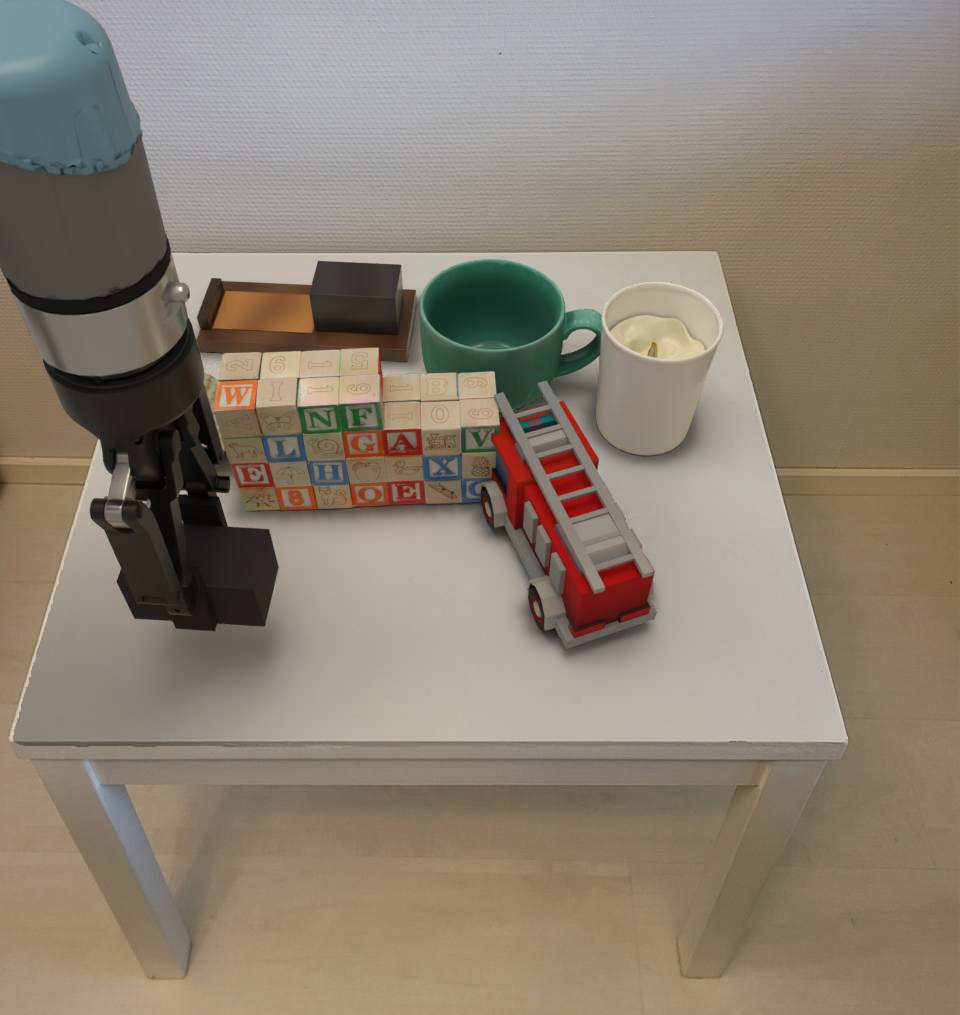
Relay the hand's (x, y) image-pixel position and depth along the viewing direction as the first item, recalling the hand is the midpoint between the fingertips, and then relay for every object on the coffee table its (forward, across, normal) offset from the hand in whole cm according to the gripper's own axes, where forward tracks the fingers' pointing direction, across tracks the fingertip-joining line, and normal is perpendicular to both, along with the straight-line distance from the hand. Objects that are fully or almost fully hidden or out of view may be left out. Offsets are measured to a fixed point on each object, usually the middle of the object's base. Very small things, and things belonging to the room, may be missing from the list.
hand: (206, 590), depth 67 cm
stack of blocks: (+7, +17, -9) cm, 20 cm away
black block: (0, 0, 0) cm, 0 cm away
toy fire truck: (+7, +10, -25) cm, 28 cm away
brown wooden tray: (+7, +36, 0) cm, 37 cm away
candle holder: (+7, +25, -32) cm, 41 cm away
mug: (+7, +29, -20) cm, 36 cm away
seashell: (+7, +19, +6) cm, 21 cm away
